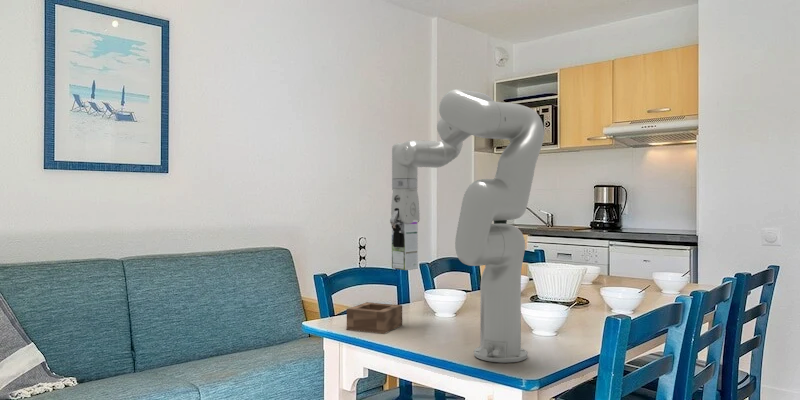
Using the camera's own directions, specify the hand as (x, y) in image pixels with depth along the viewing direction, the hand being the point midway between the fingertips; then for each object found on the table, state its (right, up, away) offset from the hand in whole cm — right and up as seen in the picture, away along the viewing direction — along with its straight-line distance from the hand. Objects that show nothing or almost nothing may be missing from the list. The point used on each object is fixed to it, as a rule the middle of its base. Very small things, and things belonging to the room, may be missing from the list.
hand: (404, 245), depth 175 cm
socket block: (-9, -24, -1) cm, 25 cm away
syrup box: (0, -7, 0) cm, 7 cm away
